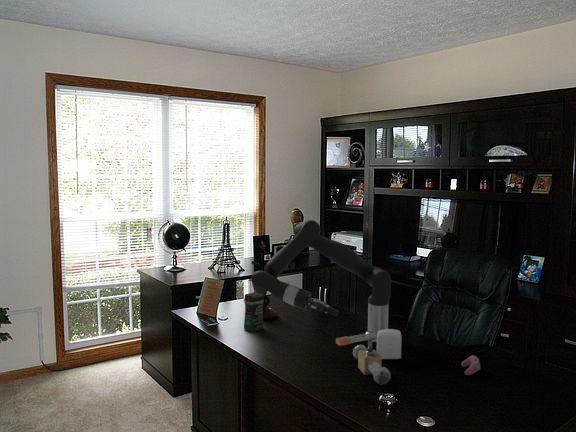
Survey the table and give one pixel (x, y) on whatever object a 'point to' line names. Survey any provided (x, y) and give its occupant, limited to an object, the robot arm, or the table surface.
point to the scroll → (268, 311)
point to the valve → (371, 363)
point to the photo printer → (389, 344)
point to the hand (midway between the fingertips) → (337, 313)
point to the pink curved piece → (471, 365)
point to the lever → (355, 338)
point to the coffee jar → (253, 312)
